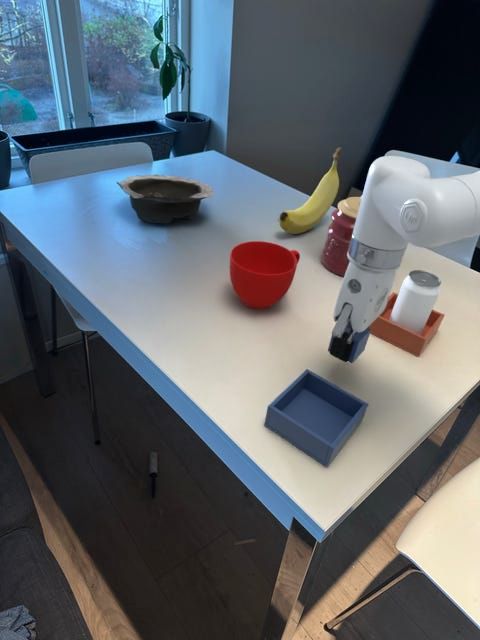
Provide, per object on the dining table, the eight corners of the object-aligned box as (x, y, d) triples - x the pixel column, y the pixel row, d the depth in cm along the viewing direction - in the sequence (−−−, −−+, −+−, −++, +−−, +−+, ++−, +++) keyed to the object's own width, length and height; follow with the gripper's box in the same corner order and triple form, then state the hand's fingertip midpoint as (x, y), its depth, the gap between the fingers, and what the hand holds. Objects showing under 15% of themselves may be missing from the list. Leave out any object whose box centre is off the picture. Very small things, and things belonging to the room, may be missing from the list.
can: (423, 329, 88) (447, 277, 81) (415, 345, 83) (439, 292, 76) (392, 316, 90) (411, 265, 83) (382, 331, 86) (402, 278, 79)
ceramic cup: (314, 299, 94) (324, 257, 88) (255, 327, 84) (262, 282, 78) (271, 271, 101) (278, 231, 95) (212, 294, 91) (216, 251, 85)
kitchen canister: (358, 286, 100) (381, 211, 89) (310, 263, 106) (326, 191, 95) (384, 266, 108) (407, 197, 97) (338, 246, 114) (355, 178, 104)
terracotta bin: (437, 331, 89) (444, 314, 86) (418, 356, 82) (426, 339, 79) (387, 308, 94) (393, 292, 91) (365, 330, 87) (371, 313, 84)
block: (364, 350, 74) (371, 329, 71) (352, 363, 71) (359, 341, 68) (340, 338, 76) (346, 317, 73) (327, 351, 73) (333, 329, 70)
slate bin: (361, 422, 68) (368, 404, 65) (327, 467, 61) (333, 449, 58) (302, 386, 73) (306, 368, 70) (263, 425, 66) (267, 406, 63)
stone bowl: (138, 237, 107) (135, 199, 102) (109, 204, 125) (105, 170, 119) (229, 223, 117) (231, 188, 112) (191, 194, 135) (190, 162, 130)
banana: (286, 244, 112) (301, 164, 100) (269, 235, 115) (281, 157, 103) (335, 221, 127) (353, 149, 115) (318, 214, 130) (334, 143, 118)
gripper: (375, 282, 55) (342, 388, 66) (422, 241, 66) (387, 337, 77) (323, 260, 59) (299, 364, 69) (376, 225, 70) (349, 318, 81)
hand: (346, 349), depth 73 cm, fingers closed on block, 4 cm apart
